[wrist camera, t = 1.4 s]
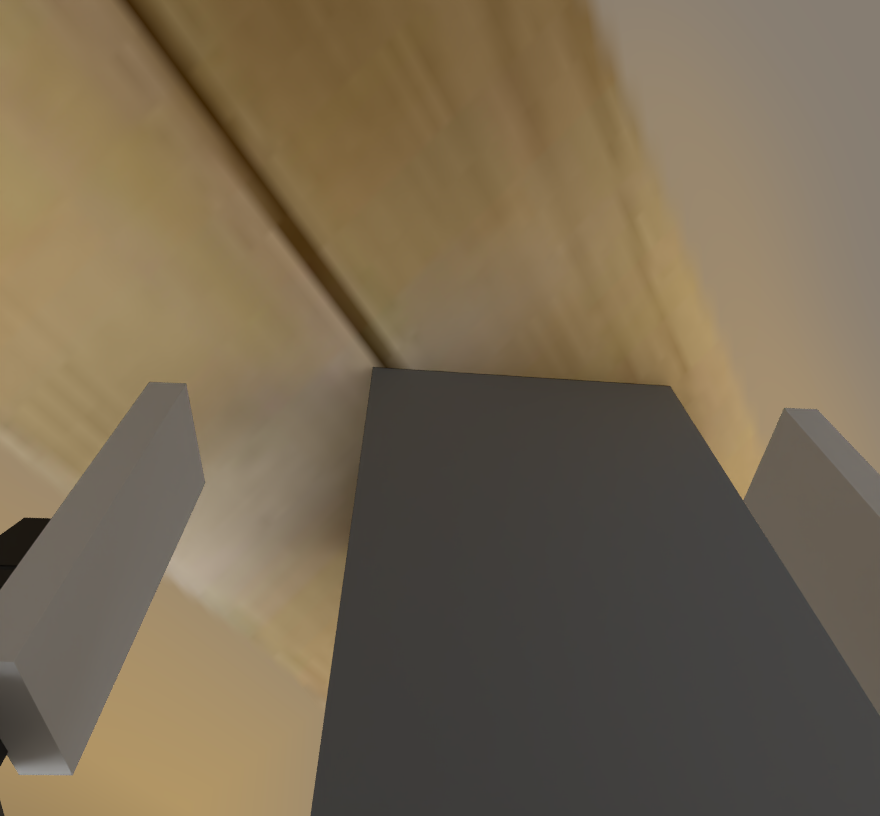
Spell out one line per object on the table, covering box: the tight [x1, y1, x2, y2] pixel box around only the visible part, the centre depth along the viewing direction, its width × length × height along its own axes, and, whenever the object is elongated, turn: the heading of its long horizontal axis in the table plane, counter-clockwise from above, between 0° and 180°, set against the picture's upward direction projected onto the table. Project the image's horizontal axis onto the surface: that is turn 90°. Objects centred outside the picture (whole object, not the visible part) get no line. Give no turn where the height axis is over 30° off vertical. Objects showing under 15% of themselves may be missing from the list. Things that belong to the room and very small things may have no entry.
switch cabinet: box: [311, 367, 880, 816], centre depth 29 cm, size 16×19×29 cm
